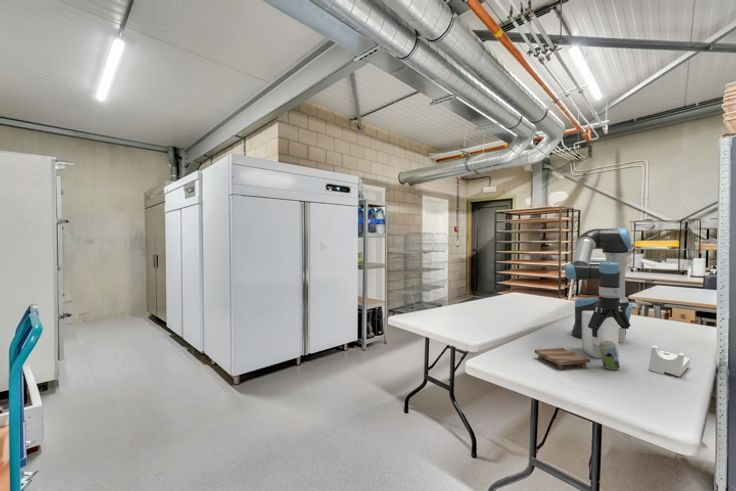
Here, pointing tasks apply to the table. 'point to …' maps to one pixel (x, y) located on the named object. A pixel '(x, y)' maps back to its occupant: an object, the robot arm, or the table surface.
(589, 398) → the table surface
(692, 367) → the table surface
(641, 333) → the table surface
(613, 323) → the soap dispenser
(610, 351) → the beverage can
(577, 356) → the wooden serving board
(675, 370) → the white pipe support bracket
